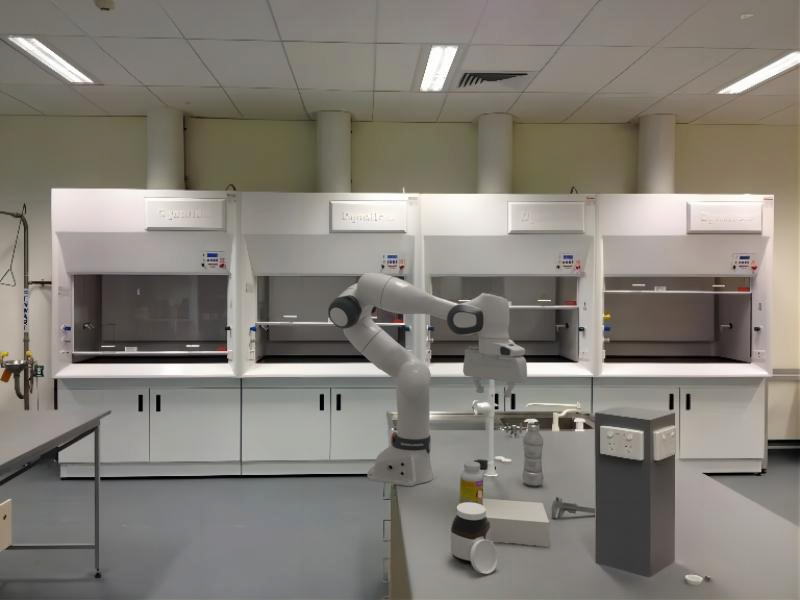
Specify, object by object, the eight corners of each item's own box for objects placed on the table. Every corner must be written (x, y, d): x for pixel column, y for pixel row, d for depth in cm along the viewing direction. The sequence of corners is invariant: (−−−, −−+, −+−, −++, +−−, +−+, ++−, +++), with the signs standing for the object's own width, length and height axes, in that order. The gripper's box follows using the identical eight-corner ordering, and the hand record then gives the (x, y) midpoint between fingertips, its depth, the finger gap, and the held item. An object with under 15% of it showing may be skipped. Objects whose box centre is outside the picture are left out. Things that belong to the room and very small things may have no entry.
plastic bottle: (544, 489, 159) (545, 427, 159) (522, 487, 161) (523, 426, 161) (542, 482, 166) (543, 422, 166) (521, 480, 167) (522, 421, 167)
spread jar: (465, 544, 123) (466, 497, 123) (508, 558, 116) (509, 508, 116) (441, 565, 113) (442, 514, 113) (487, 581, 106) (487, 527, 106)
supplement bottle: (477, 514, 140) (478, 469, 140) (456, 509, 143) (456, 464, 143) (486, 506, 146) (487, 462, 146) (465, 501, 149) (466, 458, 149)
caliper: (553, 520, 137) (553, 498, 137) (551, 518, 138) (551, 496, 138) (619, 515, 141) (619, 493, 141) (617, 514, 142) (617, 492, 142)
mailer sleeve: (483, 541, 124) (483, 517, 124) (482, 520, 136) (482, 498, 136) (548, 546, 122) (549, 522, 122) (542, 525, 134) (542, 502, 134)
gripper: (459, 345, 150) (458, 391, 150) (518, 350, 136) (517, 401, 136) (471, 344, 155) (470, 389, 155) (530, 349, 140) (529, 398, 140)
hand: (493, 394), depth 145 cm, fingers open, 8 cm apart
